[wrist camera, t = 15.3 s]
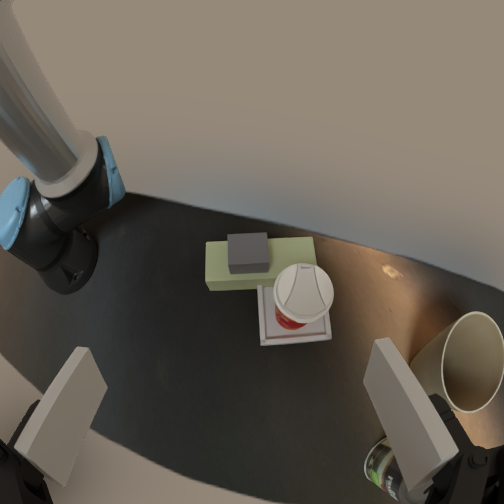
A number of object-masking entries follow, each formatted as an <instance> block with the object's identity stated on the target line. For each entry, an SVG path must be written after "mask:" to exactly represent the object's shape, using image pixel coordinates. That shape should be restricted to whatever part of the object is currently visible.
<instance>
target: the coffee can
mask: <svg viewBox="0 0 504 504" xmlns="http://www.w3.org/2000/svg"><path fill="white" fill-rule="evenodd" d="M364 471H365V474H366V476H367V478H368V479H369V480H371V481H373V482H374V483H375V484H376V485H378V486H379V487H380V488H382V489H383V490H384V491H386V492H387V493H388V494H390V495H391V496H392V497H394V498H395V499H396V500H398V501H399V502H400V503H401V504H424V503H425V501H426V499H427V496H428V494H429V492H427V493H426V494H423V493H424V491H425V490H426V489H427V488H428V487H429V486H430V485H432V484H433V483H434V482H433V480H432V479H431V480H429V481H428V482H427V483H426V484H425V485H423V486H420V487H418V488H416V489H413V490H411V491H409V492H408V489H407V486H406V484H405V481H404V478H403V476H402V473H401V471H400V468H399V466H398V463H397V460H396V458H395V455H394V453H393V450H392V448H391V446H390V443H389V441H388V438H387V437H386V438H384V439H382V440H381V441H379V442H378V443H377V444H376V445H375V446H374V447H373V448H372V449H371V450H370V452H369V453H368V455H367V457H366V460H365V464H364Z"/></svg>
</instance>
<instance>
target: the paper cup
mask: <svg viewBox="0 0 504 504" xmlns="http://www.w3.org/2000/svg"><path fill="white" fill-rule="evenodd" d="M273 295H274V300H275V316H276V320H277V322H278V323H279V324H280V325H281V326H282V327H283V328H285V329H288V330H296V329H299V328H301V327H303V326H305V325H306V324H308V323H311V322H314V321H316V320H317V319H319V318H321V317H322V316H323V315H325V314H326V312H327V311H328V310H329V309H330V307H331V305H332V302H333V298H334V290H333V285H332V282H331V280H330V278H329V277H328V275H327V274H326V273H325V271H323V270H322V269H321V268H319V267H318V266H316V265H311V264H306V263H299V264H294V265H291V266H289V267H287V268H286V269H284V270H283V271H282V272H281V273H280V274H279V275H278V277H277V279H276V281H275V284H274V289H273Z"/></svg>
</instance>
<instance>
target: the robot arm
mask: <svg viewBox="0 0 504 504" xmlns="http://www.w3.org/2000/svg"><path fill="white" fill-rule="evenodd" d="M13 1H14V0H0V141H1V142H2V143H3V144H4V145H5V146H6V147H7V148H8V149H9V150H10V151H11V152H12V153H13V154H14V155H15V156H16V157H17V158H18V159H19V160H20V161H21V162H22V163H23V164H24V165H25V166H26V167H28V169H30V170H31V171H32V172H33V173H34V174H35V178H34V180H33V181H31V182H30V180H29V179H28V178H25V177H18V178H16V179H14V180H13V181H12V182H11V183H10V184H9V185H8V186H7V187H6V189H5V190H4V191H3V193H2V195H1V196H0V245H2V246H3V248H4V249H5V250H7V251H8V252H10V253H11V254H13V255H14V256H16V257H17V258H19V259H20V260H22V261H23V262H25V263H26V264H28V265H29V266H31V267H32V268H34V269H35V270H37V272H38V273H39V275H40V276H41V278H42V279H43V280H44V282H45V283H46V285H47V286H48V287H49V288H50V289H52V290H54V291H55V292H57V293H59V294H71V293H73V292H75V291H77V290H79V289H80V288H81V287H82V286H83V285H84V284H85V283H86V282H87V281H88V279H89V278H90V276H91V275H92V273H93V270H94V268H95V265H96V260H97V246H96V243H95V240H94V239H93V237H92V236H91V235H90V234H89V233H88V232H87V231H86V230H84V229H83V228H81V227H78V226H79V225H81V224H82V223H84V222H85V221H87V220H89V219H90V218H92V217H94V216H95V215H97V214H99V213H101V212H102V211H104V210H106V209H109V208H111V206H112V205H113V204H115V203H117V202H118V201H120V200H121V199H122V198H123V197H124V195H125V187H124V185H123V182H122V179H121V176H120V174H119V171H118V168H117V165H116V163H115V160H114V156H113V154H112V151H111V148H110V145H109V142H108V139H107V138H106V136H100V137H96V138H95V137H94V136H93V135H92V134H91V133H89V132H88V131H84V130H77V129H76V127H75V126H74V124H73V122H72V121H71V119H70V118H69V116H68V114H67V113H66V111H65V110H64V108H63V106H62V105H61V103H60V101H59V99H58V98H57V96H56V94H55V93H54V91H53V89H52V87H51V86H50V84H49V82H48V81H47V79H46V77H45V75H44V74H43V71H42V70H41V68H40V66H39V64H38V62H37V60H36V58H35V57H34V55H33V53H32V51H31V49H30V47H29V45H28V43H27V41H26V38H25V36H24V34H23V32H22V30H21V28H20V26H19V24H18V21H17V19H16V17H15V14H14V12H13V10H12V3H13ZM363 383H364V385H365V388H366V390H367V392H368V394H369V397H370V399H371V401H372V403H373V406H374V408H375V410H376V412H377V415H378V417H379V419H380V422H381V424H382V426H383V429H384V431H385V433H386V436H387V438H388V441H389V443H390V446H391V448H392V450H393V453H394V455H395V458H396V460H397V463H398V466H399V468H400V471H401V473H402V476H403V478H404V481H405V484H406V486H407V489H408V492H409V491H411V490H413V489H416V488H418V487H420V486H423V485H425V484H426V483H427V482H428V481H429V480H431V479H432V480H433V482H434V483H433V484H432V485H430V486H429V487H428V488H427V489H426V490H425V491H424V493H423V494H426V493H427V492H429V494H428V496H427V499H426V501H425V503H424V504H504V445H502V446H498V447H495V448H491V449H485V448H483V447H480V446H474V445H473V443H472V442H471V441H470V439H469V437H468V436H467V434H466V432H465V431H464V429H463V427H462V426H461V424H460V422H459V421H458V419H457V418H456V417H455V414H454V413H453V411H451V408H450V406H449V405H448V403H447V402H446V400H445V399H444V398H442V397H441V396H440V395H438V394H437V393H435V394H432V395H429V396H427V394H426V393H425V391H424V390H423V388H422V386H421V385H420V383H419V382H418V380H417V379H416V377H415V375H414V374H413V372H412V371H411V369H410V368H409V366H408V365H407V363H406V362H405V360H404V359H403V357H402V356H401V354H400V353H399V351H398V350H397V348H396V347H395V345H394V344H393V342H392V341H391V339H390V338H389V337H387V338H381V339H376V340H374V343H373V347H372V351H371V355H370V359H369V362H368V366H367V370H366V373H365V376H364V380H363ZM107 388H108V387H107V385H106V383H105V381H104V379H103V377H102V375H101V373H100V371H99V369H98V367H97V365H96V363H95V361H94V358H93V356H92V354H91V352H90V349H89V348H85V347H76V349H75V350H74V351H73V353H72V354H71V356H70V357H69V359H68V360H67V361H66V363H65V364H64V366H63V367H62V369H61V370H60V372H59V373H58V375H57V376H56V377H55V379H54V381H53V382H52V384H51V385H50V387H49V388H48V390H47V391H46V393H45V394H44V396H43V398H42V399H41V400H37V401H36V402H34V403H33V404H32V405H31V406H30V407H29V409H28V411H27V413H26V415H25V416H24V417H23V419H22V422H20V424H19V426H18V427H17V429H16V431H15V432H14V434H13V436H12V438H11V440H10V442H9V443H8V444H7V445H6V444H5V443H4V442H3V441H2V440H1V439H0V504H53V502H52V499H51V496H50V493H49V490H48V487H47V484H46V482H45V481H44V480H43V478H44V476H45V477H47V478H48V479H49V480H50V481H52V482H54V483H56V484H58V485H60V486H62V487H64V488H65V486H66V484H67V481H68V478H69V476H70V473H71V470H72V468H73V465H74V463H75V460H76V458H77V455H78V453H79V450H80V448H81V446H82V443H83V441H84V438H85V436H86V434H87V431H88V429H89V427H90V425H91V422H92V420H93V418H94V416H95V414H96V411H97V409H98V407H99V405H100V403H101V401H102V398H103V396H104V394H105V392H106V390H107Z"/></svg>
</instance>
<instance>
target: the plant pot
mask: <svg viewBox="0 0 504 504" xmlns="http://www.w3.org/2000/svg"><path fill="white" fill-rule="evenodd" d="M409 368H410V369H411V371H412V372H413V374H414V375H415V377H416V379H417V380H418V382H419V383H420V385H421V386H422V388H423V390H424V391H425V393H426V394H427V396H429V395H432V394H435V393H437V394H438V395H440V396H441V397H442V398H444V399H445V400H446V402H447V403H448V405H449V406H450V408H451V409H453V410H456V411H460V412H463V413H473V412H476V411H479V410H481V409H482V408H484V407H485V406H486V405H487V404H488V403H489V402H490V401H491V400H492V398H493V397H494V396H495V394H496V392H497V390H498V389H499V386H500V384H501V381H502V378H503V374H504V340H503V337H502V334H501V331H500V329H499V327H498V326H497V324H496V323H495V321H494V320H493V319H492V318H491V317H489V316H488V315H487V314H485V313H482V312H470V313H467V314H465V315H464V316H462V317H461V318H459V319H458V320H456V321H455V322H454V323H452V324H451V325H449V326H448V327H446V328H445V329H444V330H442V331H441V332H440V333H439V334H438V335H436V336H435V337H434V338H433V339H432V340H431V341H430V342H428V343H427V344H426V345H425V346H424V347H423V348H422V349H421V350H420V352H419V353H418V354H417V355H416V356H415V357H414V359H413V360H412V362H411V364H410V366H409Z"/></svg>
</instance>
